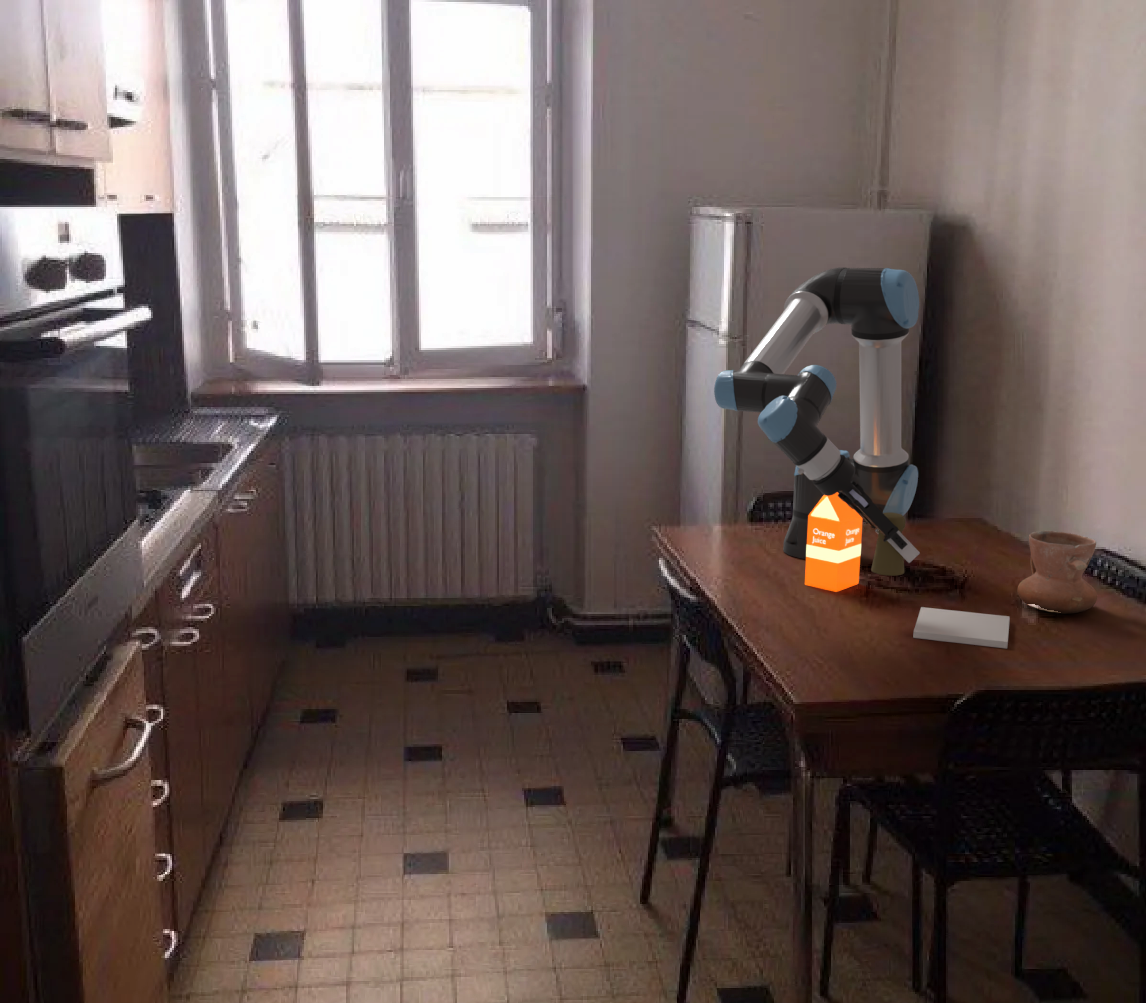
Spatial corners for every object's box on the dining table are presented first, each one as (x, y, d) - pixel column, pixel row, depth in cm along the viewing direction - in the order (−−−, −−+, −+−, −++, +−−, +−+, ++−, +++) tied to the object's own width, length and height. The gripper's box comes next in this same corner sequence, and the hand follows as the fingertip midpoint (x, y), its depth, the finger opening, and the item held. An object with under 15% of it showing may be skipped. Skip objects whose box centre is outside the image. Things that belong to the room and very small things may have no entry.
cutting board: (913, 637, 225) (913, 631, 225) (920, 613, 240) (921, 607, 240) (1007, 648, 220) (1007, 642, 220) (1009, 622, 235) (1009, 616, 234)
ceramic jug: (1113, 620, 237) (1121, 547, 234) (1039, 621, 235) (1046, 547, 233) (1067, 595, 254) (1074, 526, 252) (998, 595, 253) (1004, 526, 250)
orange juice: (859, 583, 260) (865, 489, 255) (836, 592, 253) (842, 495, 249) (826, 576, 265) (831, 483, 261) (803, 584, 259) (808, 489, 254)
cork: (907, 569, 235) (911, 511, 233) (901, 577, 230) (905, 518, 227) (874, 565, 238) (878, 508, 235) (867, 573, 232) (871, 515, 230)
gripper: (798, 472, 237) (877, 554, 242) (825, 492, 220) (910, 581, 225) (827, 444, 237) (906, 527, 242) (856, 462, 219) (941, 552, 224)
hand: (908, 553), depth 233 cm, fingers closed on cork, 5 cm apart
